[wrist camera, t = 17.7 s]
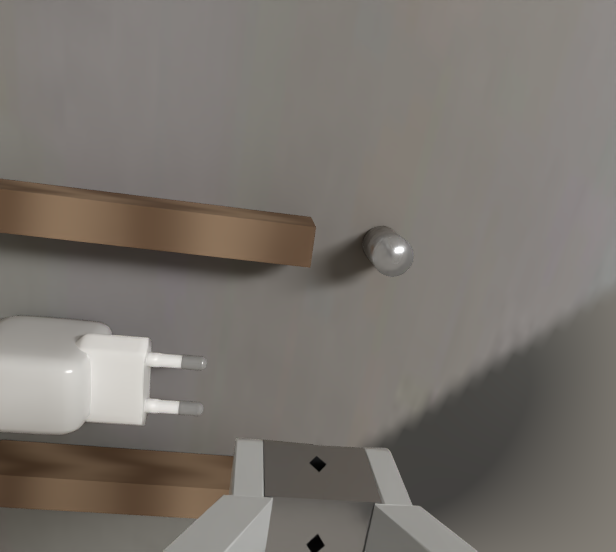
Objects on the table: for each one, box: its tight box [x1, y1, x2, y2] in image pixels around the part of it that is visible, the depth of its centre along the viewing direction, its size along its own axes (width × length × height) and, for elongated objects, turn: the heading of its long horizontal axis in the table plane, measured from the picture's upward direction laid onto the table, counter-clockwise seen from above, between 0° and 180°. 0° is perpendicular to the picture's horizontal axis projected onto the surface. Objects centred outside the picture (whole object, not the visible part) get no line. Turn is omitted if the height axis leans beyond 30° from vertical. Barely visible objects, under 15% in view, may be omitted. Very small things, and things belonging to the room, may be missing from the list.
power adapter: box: [0, 315, 207, 435], centre depth 26 cm, size 11×5×6 cm, turn 83°
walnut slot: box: [0, 179, 316, 519], centre depth 27 cm, size 16×17×3 cm
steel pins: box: [363, 226, 414, 277], centre depth 28 cm, size 2×17×3 cm, turn 172°
